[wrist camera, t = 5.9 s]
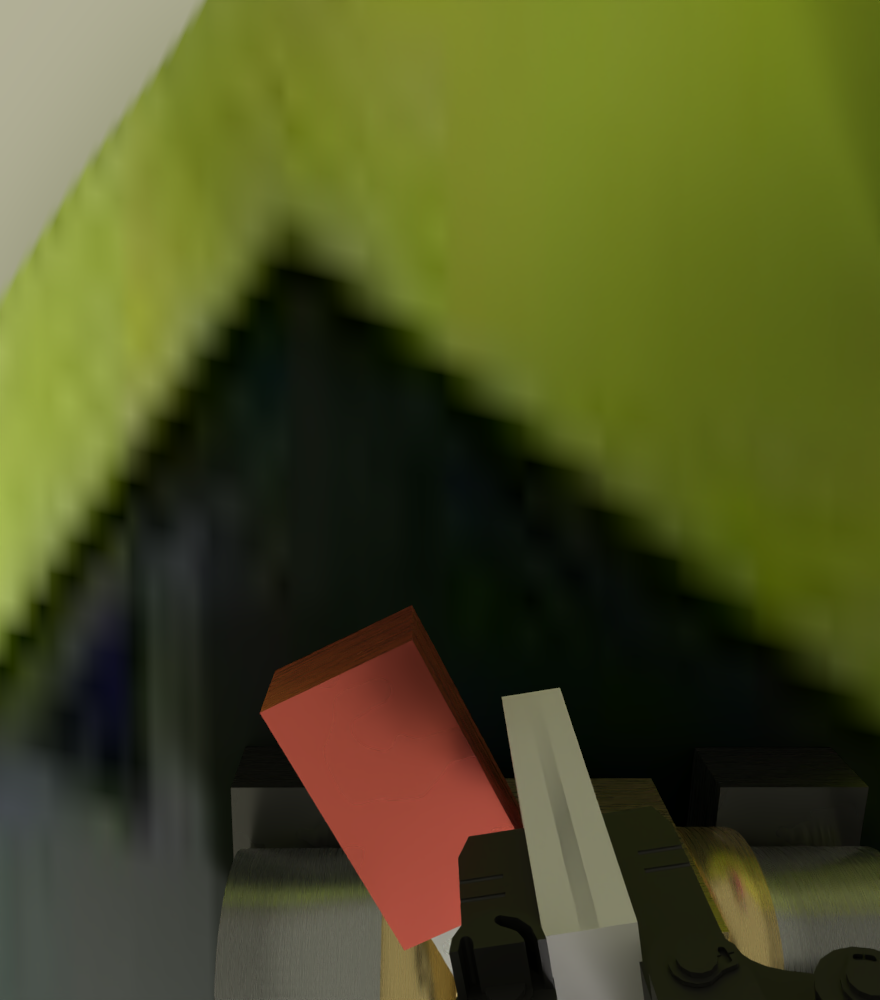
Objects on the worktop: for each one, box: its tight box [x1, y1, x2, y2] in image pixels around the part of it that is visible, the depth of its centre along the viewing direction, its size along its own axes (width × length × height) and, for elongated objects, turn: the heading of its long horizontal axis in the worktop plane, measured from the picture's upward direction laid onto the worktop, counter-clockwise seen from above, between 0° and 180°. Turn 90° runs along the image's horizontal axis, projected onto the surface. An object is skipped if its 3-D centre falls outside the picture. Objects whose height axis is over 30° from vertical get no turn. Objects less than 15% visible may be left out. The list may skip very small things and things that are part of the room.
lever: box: [260, 605, 523, 976], centre depth 18 cm, size 16×4×2 cm, turn 26°
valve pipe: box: [215, 747, 880, 1000], centre depth 25 cm, size 21×7×10 cm, turn 89°
